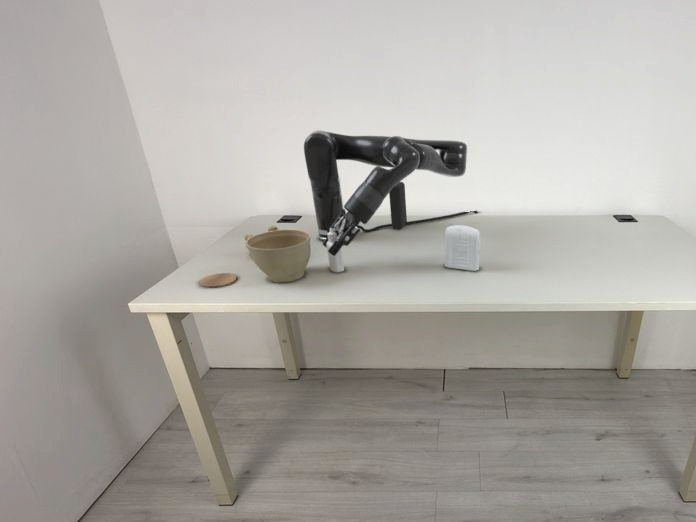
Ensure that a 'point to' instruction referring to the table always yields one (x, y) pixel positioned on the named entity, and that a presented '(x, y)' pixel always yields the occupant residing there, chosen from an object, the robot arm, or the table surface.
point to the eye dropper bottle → (336, 260)
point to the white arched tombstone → (462, 247)
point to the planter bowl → (281, 253)
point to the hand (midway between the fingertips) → (328, 249)
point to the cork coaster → (218, 280)
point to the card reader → (398, 206)
